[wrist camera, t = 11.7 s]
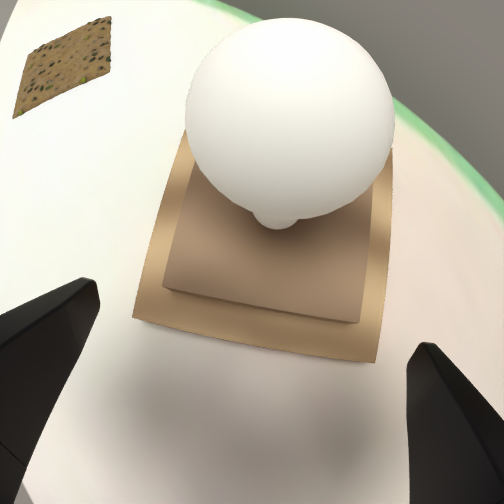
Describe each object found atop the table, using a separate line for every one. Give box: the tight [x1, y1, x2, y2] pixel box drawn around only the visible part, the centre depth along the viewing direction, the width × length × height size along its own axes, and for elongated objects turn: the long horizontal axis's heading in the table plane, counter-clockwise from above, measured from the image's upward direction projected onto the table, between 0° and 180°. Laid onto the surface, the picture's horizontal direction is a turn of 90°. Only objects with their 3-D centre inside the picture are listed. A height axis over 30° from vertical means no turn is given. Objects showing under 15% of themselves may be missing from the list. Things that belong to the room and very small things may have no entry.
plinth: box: [132, 129, 393, 363], centre depth 19 cm, size 14×14×4 cm
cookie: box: [12, 16, 112, 119], centre depth 26 cm, size 12×12×1 cm
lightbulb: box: [185, 18, 395, 230], centre depth 11 cm, size 6×6×11 cm
